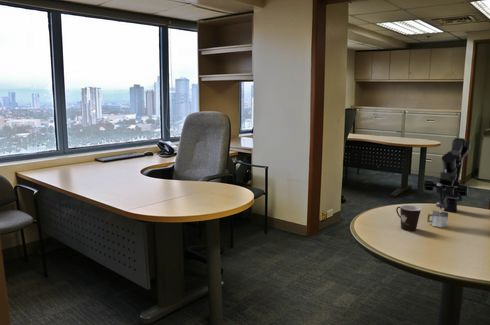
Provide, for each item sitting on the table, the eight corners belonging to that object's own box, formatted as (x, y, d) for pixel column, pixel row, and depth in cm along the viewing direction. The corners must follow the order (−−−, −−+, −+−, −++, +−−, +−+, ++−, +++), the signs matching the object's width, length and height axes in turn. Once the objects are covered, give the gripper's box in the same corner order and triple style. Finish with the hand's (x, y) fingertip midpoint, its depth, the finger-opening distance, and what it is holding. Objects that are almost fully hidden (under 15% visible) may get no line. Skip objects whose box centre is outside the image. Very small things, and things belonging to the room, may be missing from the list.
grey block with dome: (427, 221, 192) (428, 209, 191) (446, 224, 188) (448, 212, 187) (426, 225, 186) (428, 213, 185) (446, 229, 182) (448, 216, 181)
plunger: (433, 217, 190) (435, 201, 188) (445, 219, 187) (447, 202, 186) (433, 220, 185) (435, 203, 184) (445, 222, 183) (447, 205, 182)
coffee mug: (421, 232, 177) (424, 211, 175) (402, 232, 177) (404, 210, 175) (411, 223, 189) (413, 203, 187) (393, 223, 189) (395, 203, 187)
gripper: (426, 163, 191) (418, 189, 185) (470, 168, 181) (463, 196, 174) (428, 176, 199) (420, 202, 192) (470, 182, 188) (464, 209, 182)
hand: (441, 202), depth 185 cm, fingers closed, pressing on plunger
